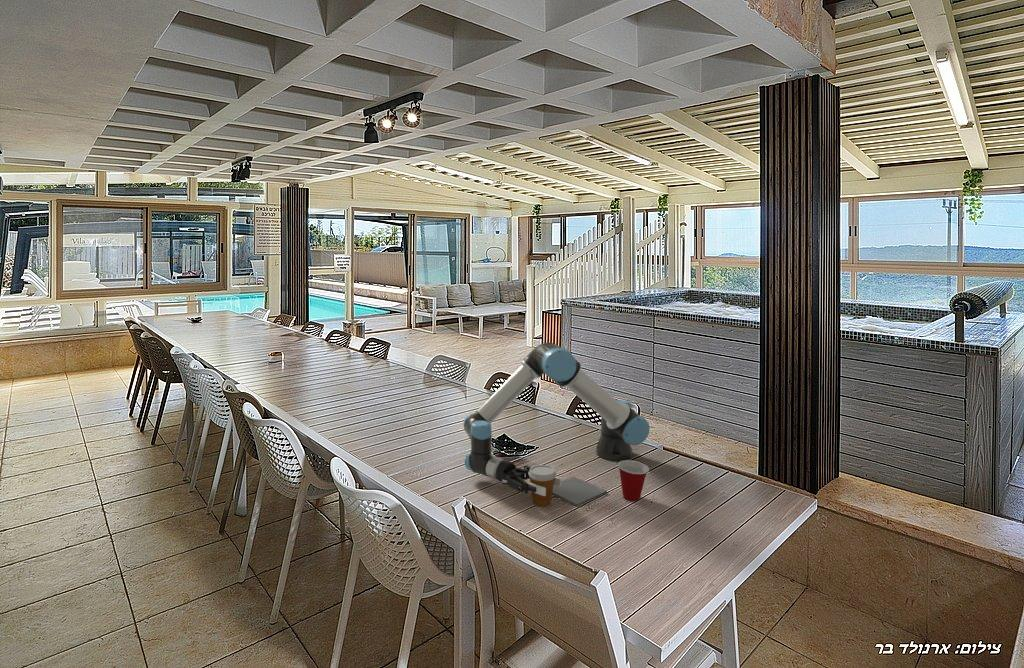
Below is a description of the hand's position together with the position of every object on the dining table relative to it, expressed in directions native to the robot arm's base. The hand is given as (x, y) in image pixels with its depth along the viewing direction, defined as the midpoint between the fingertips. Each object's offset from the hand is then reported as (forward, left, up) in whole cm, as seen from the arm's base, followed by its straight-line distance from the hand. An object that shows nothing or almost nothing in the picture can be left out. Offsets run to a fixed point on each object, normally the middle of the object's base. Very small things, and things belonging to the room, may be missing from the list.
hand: (553, 487), depth 192 cm
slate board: (-14, -3, -7) cm, 16 cm away
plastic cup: (-26, +13, -7) cm, 30 cm away
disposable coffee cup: (+1, -5, -7) cm, 9 cm away
